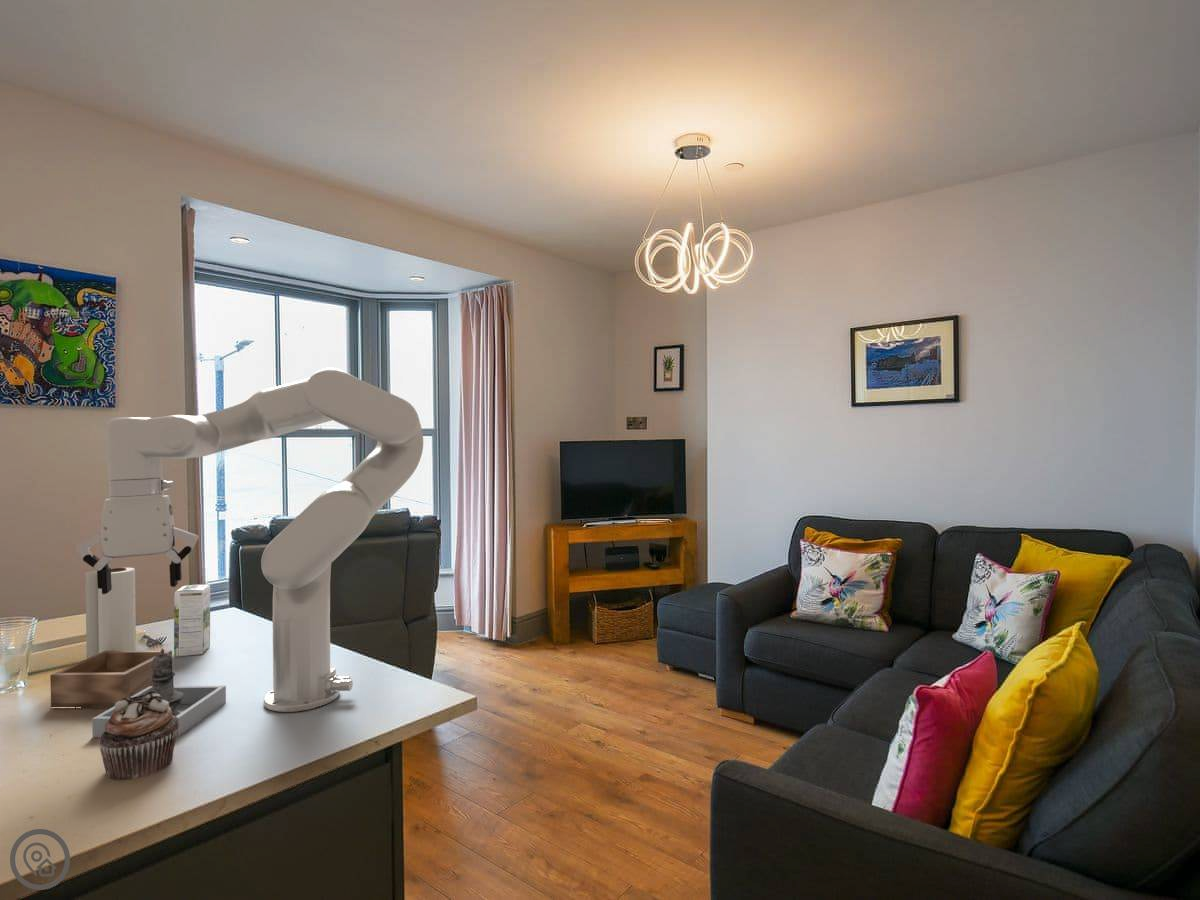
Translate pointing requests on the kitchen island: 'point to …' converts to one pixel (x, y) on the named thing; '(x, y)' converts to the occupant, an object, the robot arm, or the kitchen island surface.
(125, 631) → the paper towel roll
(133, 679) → the walnut bin
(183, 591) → the syrup box
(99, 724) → the grey frame
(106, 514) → the robot arm
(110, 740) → the cupcake
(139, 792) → the kitchen island surface
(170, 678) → the grey chess piece
